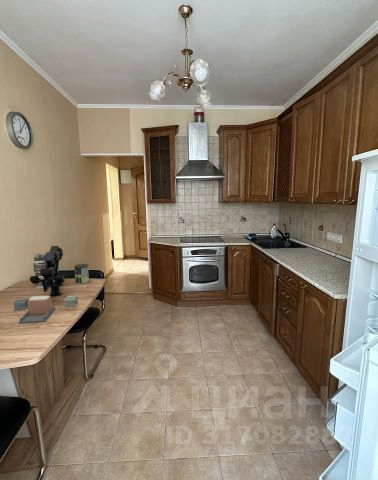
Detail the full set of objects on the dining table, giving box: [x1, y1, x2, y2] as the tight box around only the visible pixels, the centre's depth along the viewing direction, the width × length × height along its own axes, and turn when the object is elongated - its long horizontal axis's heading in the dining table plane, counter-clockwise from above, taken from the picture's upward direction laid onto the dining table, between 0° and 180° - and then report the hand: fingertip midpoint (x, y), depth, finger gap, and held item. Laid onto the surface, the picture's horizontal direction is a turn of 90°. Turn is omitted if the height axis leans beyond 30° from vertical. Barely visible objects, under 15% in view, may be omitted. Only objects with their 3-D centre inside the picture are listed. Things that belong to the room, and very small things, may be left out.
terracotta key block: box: [27, 295, 52, 315], centre depth 143 cm, size 6×10×9 cm, turn 100°
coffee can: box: [73, 263, 90, 285], centre depth 200 cm, size 10×10×14 cm
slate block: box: [13, 297, 30, 312], centre depth 151 cm, size 6×6×5 cm
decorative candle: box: [32, 253, 47, 289], centre depth 189 cm, size 9×9×25 cm
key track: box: [18, 306, 56, 325], centre depth 141 cm, size 16×13×2 cm
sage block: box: [63, 295, 79, 308], centre depth 156 cm, size 6×6×5 cm
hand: (44, 291), depth 150 cm, fingers closed
